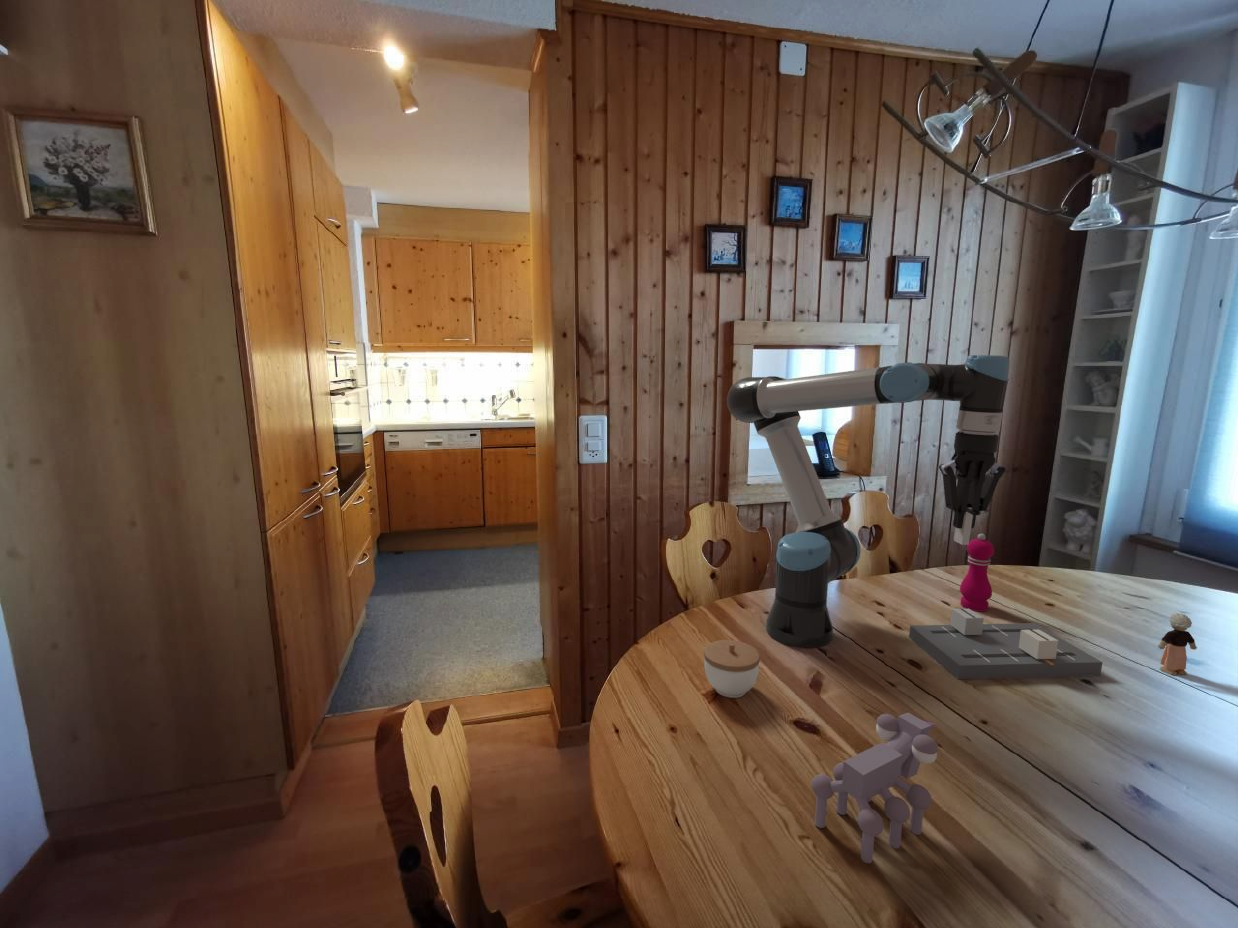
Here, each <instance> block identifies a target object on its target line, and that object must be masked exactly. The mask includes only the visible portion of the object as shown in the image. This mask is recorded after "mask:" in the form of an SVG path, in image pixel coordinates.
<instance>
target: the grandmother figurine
mask: <svg viewBox="0 0 1238 928" xmlns="http://www.w3.org/2000/svg"><path fill="white" fill-rule="evenodd" d="M1169 623H1170V626H1171V628H1172V630H1171V631H1170V630H1169V631H1168V632H1166V633H1165V634H1164V636H1163V637H1162V638H1161V640H1160V642H1159V644H1158V645H1157V647H1158V649H1160V650H1164V651H1163V653H1162V656H1161V658H1160V659H1161V660H1160V665H1161V666H1160V668H1159V670H1160V671H1161V672H1163V673H1166V674H1167V675H1171V676H1178V674H1180V675H1184V676H1185V675H1187V674H1188V673H1187V671H1186V669H1187V660H1188V657H1187V649H1186V647H1187V646H1188V645H1189V648H1190V649H1191V650H1195V651H1196V650H1197V649H1198V647H1197V645H1196V642H1195V639H1194V637H1193V636H1192V634H1191V633H1190V632H1189V631H1187V629H1189V628H1191V627H1192V625H1193V622H1192V620H1191V618H1190V617H1189V616H1188V615H1186V614H1185V613H1180V612H1179V613H1176V612H1174V613H1173V614H1171V615H1170V616H1169Z"/></svg>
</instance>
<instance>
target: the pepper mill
mask: <svg viewBox="0 0 1238 928" xmlns="http://www.w3.org/2000/svg"><path fill="white" fill-rule="evenodd" d="M966 551H967V553H968V556H967V558H968V559H967V562H968V564H969V565H968V566H969V567H968V570H967V573H966V575H965V576H964V578H963V579H962V581H961V583H960V586H959V592H960V593H961V595H962V596H961V597H960V605H961V606H962V607H963V608H964V609H970V610H972V611H974V612H986V611H988V610H989V604H990V603H989V601H988V600H990V599H991V598H992V596H993V588H992V586H991V583H990V581H989V580H990V579H989V578H988V568H989V566H990V565H991V561H992V560H991V557H993V555H994V553H995V549H994V545H993V543H991V542H990V541H989V540H986V535H985V534H984V533H979V534H977V538H974V539H971V540H969V545H966Z"/></svg>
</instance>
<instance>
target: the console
mask: <svg viewBox="0 0 1238 928" xmlns="http://www.w3.org/2000/svg"><path fill="white" fill-rule="evenodd" d="M1021 630H1041V631H1043V632H1044V633H1046V634H1048V635H1049V636H1051V637H1053V638H1055V639H1056V640H1058V646H1057V653H1056V659H1036V658H1034V657H1033V656H1031V655H1030V654H1028V653H1026V652H1025V651H1023V650H1022V649H1020V648H1019V641H1020V633H1021ZM908 633H909V634H908V639H910V640H911V641H912V642H914V643H915V644H916V645H917V646H918V647H919V648H921V650H923V651H924V652H926V654H928V655H929V656H930V657H931V658H933V659H934V660H935V661H936V662H937V663H938V664H940V666H942V667H943V668H944V669H945V670H947V671H948V672H949V673H950V674H951V675H952V676H954V677H955V678H956V679H957V680H975V679H976V680H978V679H984V680H985V679H1018V678H1020V679H1021V678H1023V679H1024V678H1027V679H1028V678H1053V677H1054V678H1061V677H1062V678H1063V677H1068V678H1069V677H1101V676H1102V675H1101V674H1102V669H1103V661H1101V660H1100V659H1097V658H1096V657H1094V656H1093V655H1091V654H1089V653H1087V652H1085V651H1084V650H1082V649H1080V648H1078V647H1077V646H1075V645H1073V644H1072V643H1070V642H1068V641H1067V640H1064V639H1063V638H1061V637H1059V636H1057V635H1056V634H1054V633H1052V632H1051V631H1049V630H1047V629H1045V628H1044V627H1041V626H1040V625H1038V624H1037V623H1034V622H1030V623H1029V622H1028V623H1027V622H1025V623H983V629H982V635H964V634H962V633H961V632H959V631H958V630H957V629H955V628H954V627H952V626H951V624H928V625H926V624H923V625H919V624H918V625H917V624H916V625H910V626H909V632H908Z"/></svg>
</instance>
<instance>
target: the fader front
mask: <svg viewBox="0 0 1238 928" xmlns="http://www.w3.org/2000/svg"><path fill="white" fill-rule="evenodd" d="M1057 646H1058V640H1056V639H1055V638H1053V637H1051V636H1049V635H1048V634H1046V633H1044V632H1043V631H1041V630H1021V633H1020V641H1019V648H1020V649H1022V650H1023V651H1025V652H1026V653H1028V654H1030V655H1031V656H1033V657H1034V658H1036V659H1056V653H1057Z"/></svg>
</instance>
